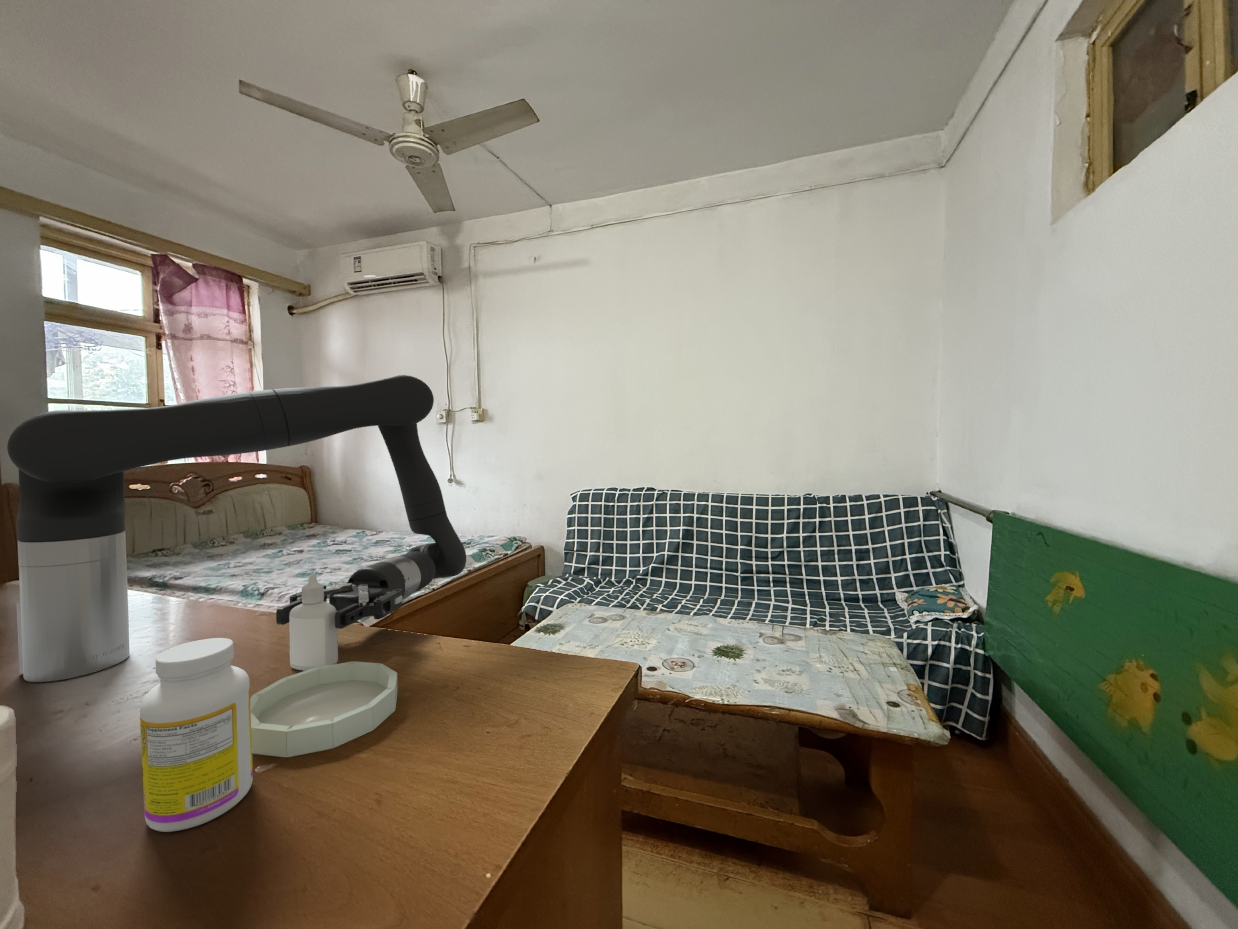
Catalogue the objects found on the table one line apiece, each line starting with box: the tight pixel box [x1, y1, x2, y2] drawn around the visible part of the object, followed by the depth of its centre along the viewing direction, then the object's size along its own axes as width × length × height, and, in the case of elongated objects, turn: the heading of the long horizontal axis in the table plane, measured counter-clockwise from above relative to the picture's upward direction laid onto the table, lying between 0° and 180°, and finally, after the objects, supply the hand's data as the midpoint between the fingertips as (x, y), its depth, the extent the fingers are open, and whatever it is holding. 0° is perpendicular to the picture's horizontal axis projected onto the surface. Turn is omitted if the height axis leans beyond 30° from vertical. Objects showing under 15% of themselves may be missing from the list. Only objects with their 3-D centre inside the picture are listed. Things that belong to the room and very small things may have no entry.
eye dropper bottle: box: [288, 574, 339, 672], centre depth 63 cm, size 4×6×12 cm
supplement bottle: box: [139, 637, 254, 833], centre depth 39 cm, size 7×7×13 cm
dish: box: [250, 660, 398, 758], centre depth 52 cm, size 14×14×2 cm
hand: (307, 619), depth 62 cm, fingers open, 8 cm apart
